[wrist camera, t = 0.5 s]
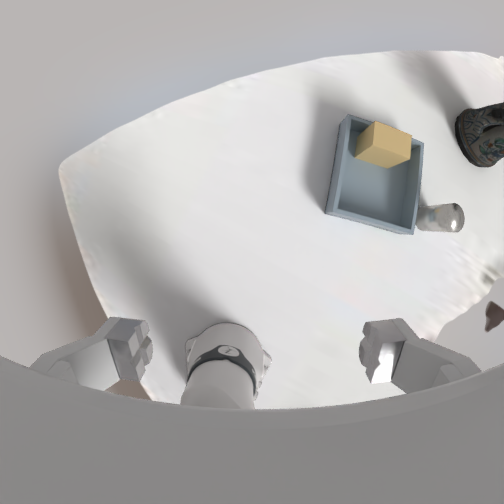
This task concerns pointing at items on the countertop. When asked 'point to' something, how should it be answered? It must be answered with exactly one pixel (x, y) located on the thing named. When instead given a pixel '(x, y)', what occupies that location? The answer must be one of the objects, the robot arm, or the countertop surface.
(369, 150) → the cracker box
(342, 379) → the countertop surface
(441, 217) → the tin
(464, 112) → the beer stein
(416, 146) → the tote
